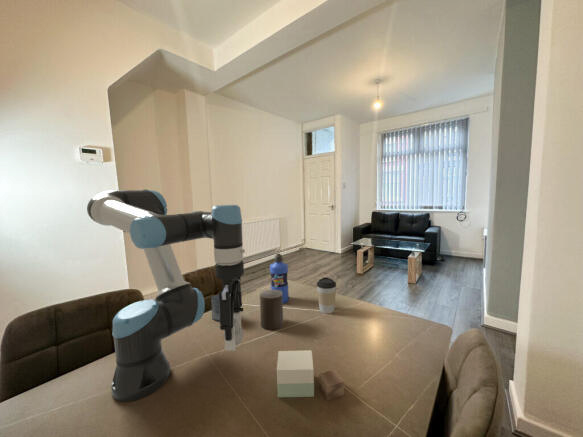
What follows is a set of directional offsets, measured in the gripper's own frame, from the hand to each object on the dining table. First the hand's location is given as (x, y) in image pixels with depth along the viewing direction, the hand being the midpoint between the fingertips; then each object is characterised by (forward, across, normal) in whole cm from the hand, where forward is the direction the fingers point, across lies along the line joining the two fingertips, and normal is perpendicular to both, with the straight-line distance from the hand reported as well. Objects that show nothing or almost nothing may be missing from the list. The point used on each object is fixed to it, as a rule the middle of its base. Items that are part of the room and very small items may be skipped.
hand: (233, 341), depth 68 cm
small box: (+15, +40, +15) cm, 45 cm away
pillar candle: (+15, +35, -7) cm, 39 cm away
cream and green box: (+15, +1, -17) cm, 23 cm away
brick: (+15, -1, -27) cm, 31 cm away
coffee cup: (+15, +46, -32) cm, 58 cm away
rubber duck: (+1, 0, 0) cm, 1 cm away
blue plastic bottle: (+15, +58, -9) cm, 61 cm away
